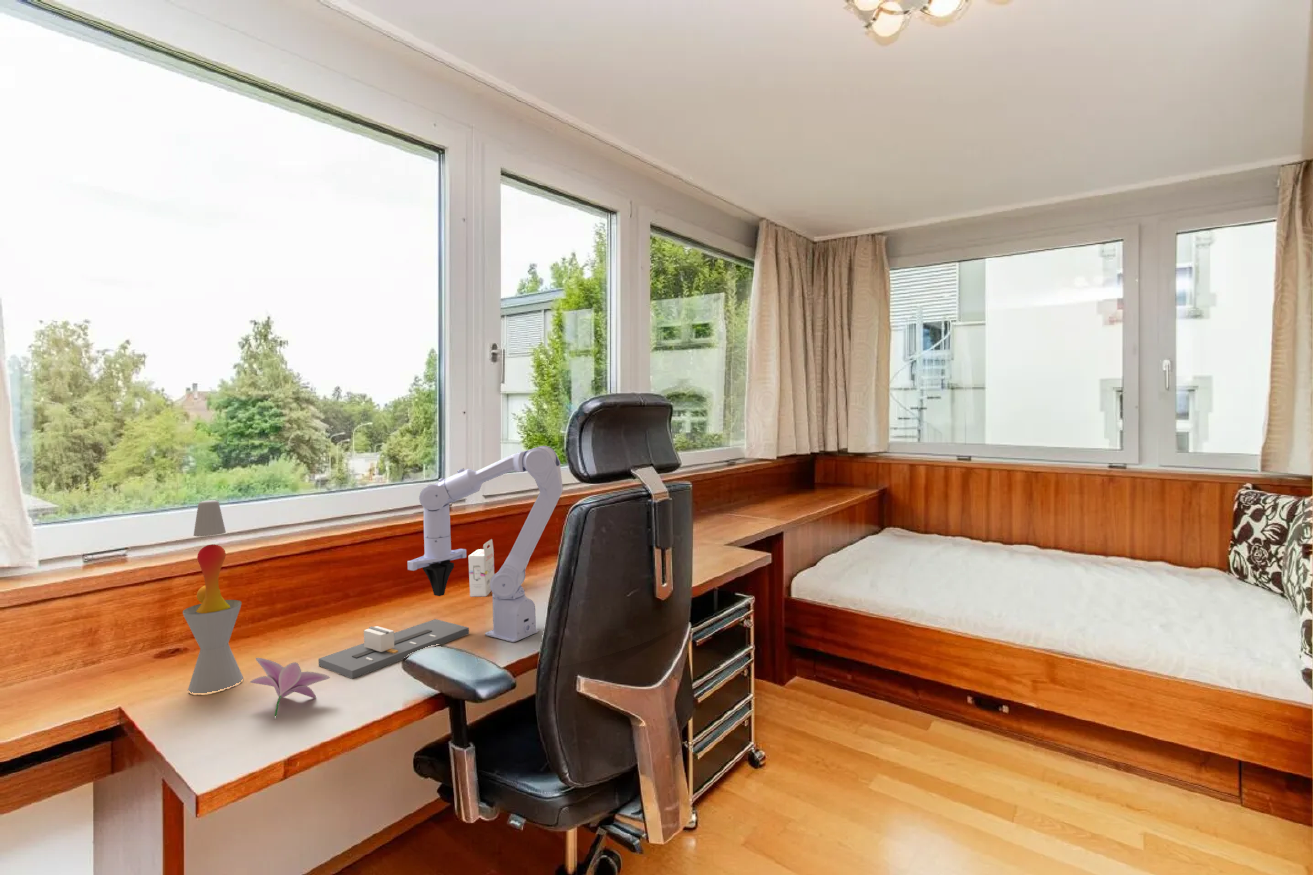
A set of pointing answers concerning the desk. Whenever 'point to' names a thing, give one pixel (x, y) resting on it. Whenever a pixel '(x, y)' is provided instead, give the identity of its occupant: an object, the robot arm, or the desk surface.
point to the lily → (287, 679)
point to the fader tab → (378, 638)
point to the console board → (405, 643)
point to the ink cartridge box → (481, 570)
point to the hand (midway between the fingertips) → (439, 594)
